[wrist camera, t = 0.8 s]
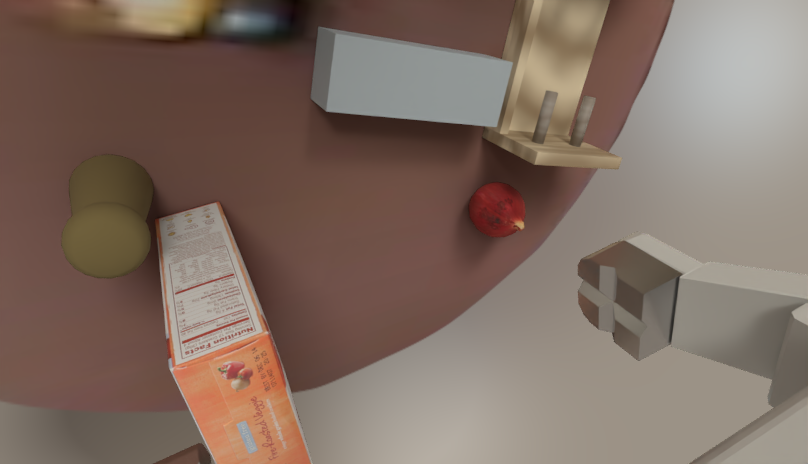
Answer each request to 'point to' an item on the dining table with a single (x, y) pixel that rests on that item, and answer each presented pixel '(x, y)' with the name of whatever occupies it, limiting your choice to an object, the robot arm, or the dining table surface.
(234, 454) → the cracker box
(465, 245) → the dining table surface
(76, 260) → the olive double rounded piece
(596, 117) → the dining table surface
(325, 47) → the light grey rectangular block
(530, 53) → the tray
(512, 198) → the red round piece
